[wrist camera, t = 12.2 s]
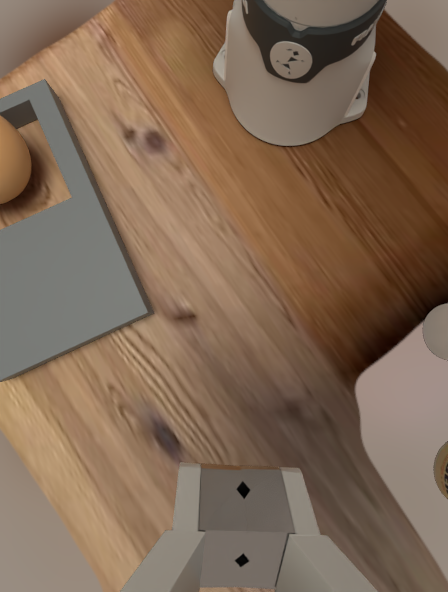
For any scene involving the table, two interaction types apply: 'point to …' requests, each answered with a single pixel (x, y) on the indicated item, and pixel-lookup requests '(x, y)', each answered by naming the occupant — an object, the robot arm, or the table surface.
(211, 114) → the table surface
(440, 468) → the coffee cup
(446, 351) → the can
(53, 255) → the deck
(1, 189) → the ball
